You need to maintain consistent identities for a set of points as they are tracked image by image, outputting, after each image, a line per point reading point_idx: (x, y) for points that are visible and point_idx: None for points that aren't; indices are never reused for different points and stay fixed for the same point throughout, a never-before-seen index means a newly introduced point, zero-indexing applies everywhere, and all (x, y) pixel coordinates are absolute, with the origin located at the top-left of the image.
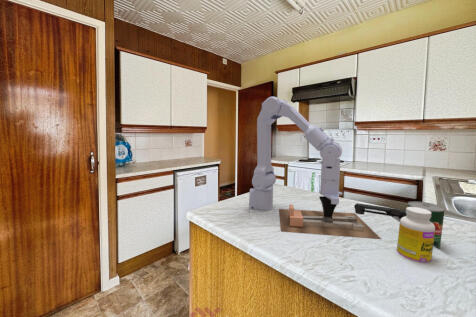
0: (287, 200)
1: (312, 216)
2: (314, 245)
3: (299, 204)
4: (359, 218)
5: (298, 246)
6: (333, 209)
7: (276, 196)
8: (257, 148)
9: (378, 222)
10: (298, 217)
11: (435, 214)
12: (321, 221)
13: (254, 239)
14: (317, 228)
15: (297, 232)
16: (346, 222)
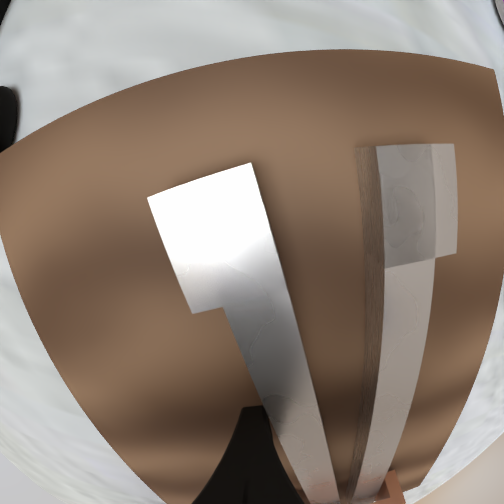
0: (31, 451)
1: (311, 488)
2: (485, 393)
3: (32, 430)
4: (71, 121)
5: (479, 423)
6: (290, 483)
7: (29, 464)
8: None
9: (62, 3)
10: None
11: None
12: (383, 451)
13: (424, 490)
14: (403, 431)
15: (433, 461)
16: (393, 312)
